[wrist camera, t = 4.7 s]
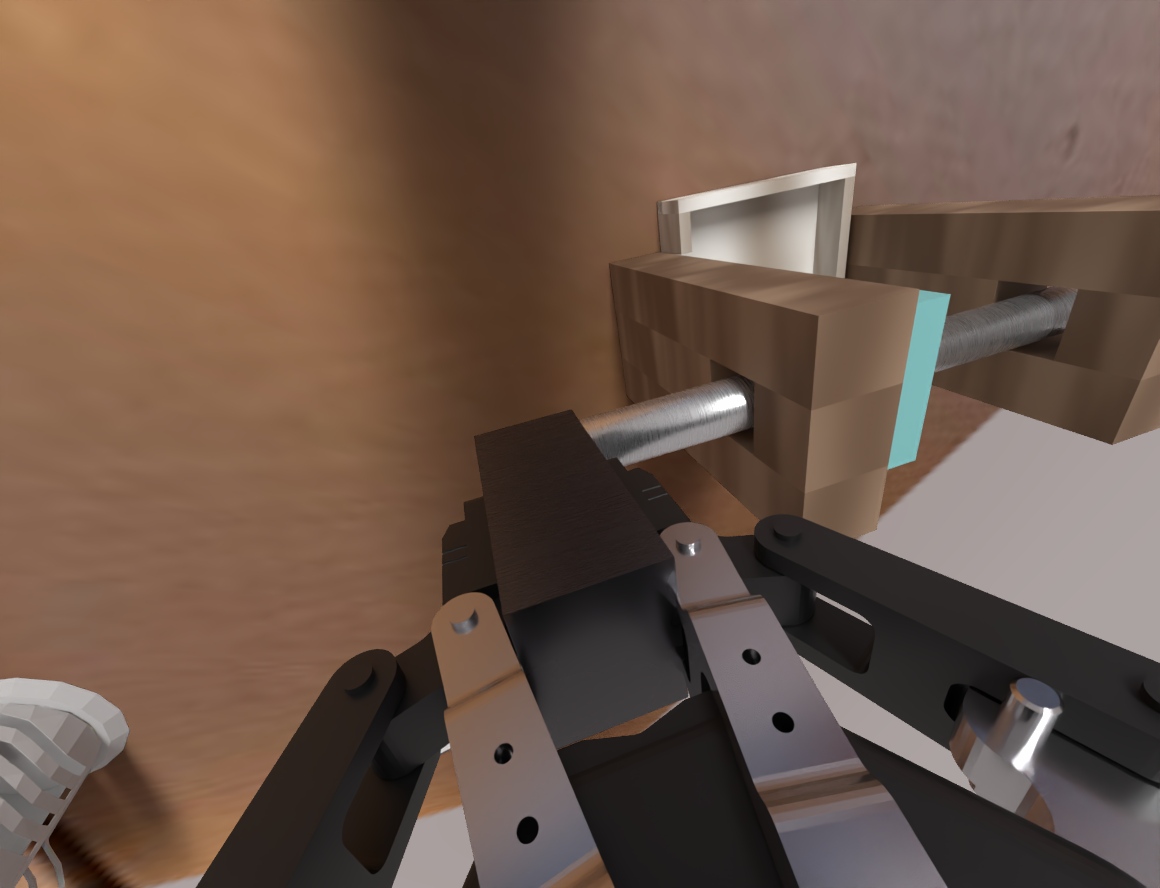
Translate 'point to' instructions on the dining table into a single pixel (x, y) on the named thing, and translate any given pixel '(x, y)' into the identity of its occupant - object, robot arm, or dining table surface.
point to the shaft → (637, 530)
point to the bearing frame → (880, 324)
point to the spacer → (918, 375)
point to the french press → (47, 762)
